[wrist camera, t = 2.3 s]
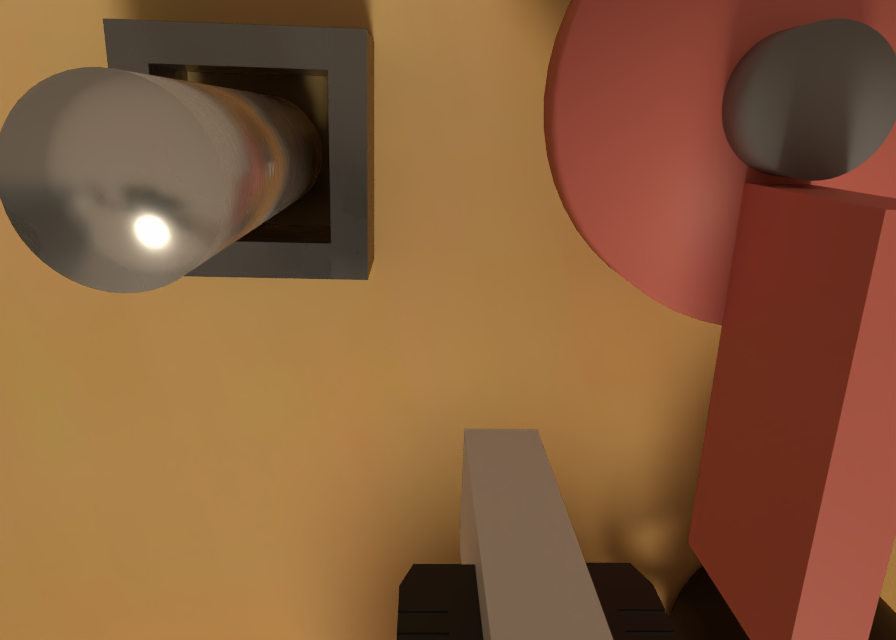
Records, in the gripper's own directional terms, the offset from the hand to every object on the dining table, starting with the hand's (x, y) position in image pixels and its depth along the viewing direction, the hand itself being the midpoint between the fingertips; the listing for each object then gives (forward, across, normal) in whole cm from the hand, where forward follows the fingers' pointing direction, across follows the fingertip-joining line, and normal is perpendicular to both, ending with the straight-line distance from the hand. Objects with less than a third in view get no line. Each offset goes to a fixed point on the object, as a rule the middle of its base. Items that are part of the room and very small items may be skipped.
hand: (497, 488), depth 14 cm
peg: (+13, -7, +6) cm, 16 cm away
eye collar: (+13, -7, +6) cm, 16 cm away
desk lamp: (+7, +8, +4) cm, 12 cm away
